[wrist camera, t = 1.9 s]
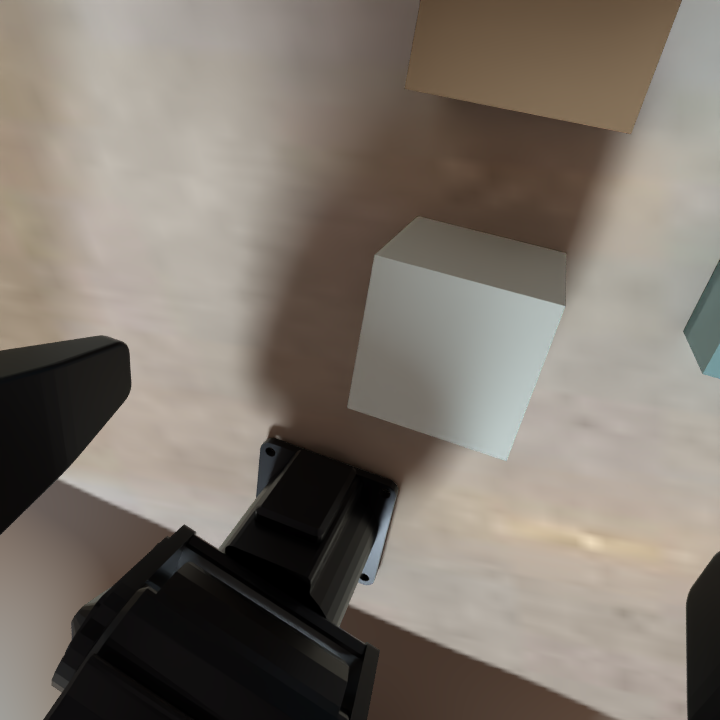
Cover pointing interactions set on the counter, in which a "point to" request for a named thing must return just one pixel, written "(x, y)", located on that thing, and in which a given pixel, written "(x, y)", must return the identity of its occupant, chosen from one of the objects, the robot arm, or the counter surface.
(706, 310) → the tray
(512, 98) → the walnut block
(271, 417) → the counter surface
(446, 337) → the grey block
